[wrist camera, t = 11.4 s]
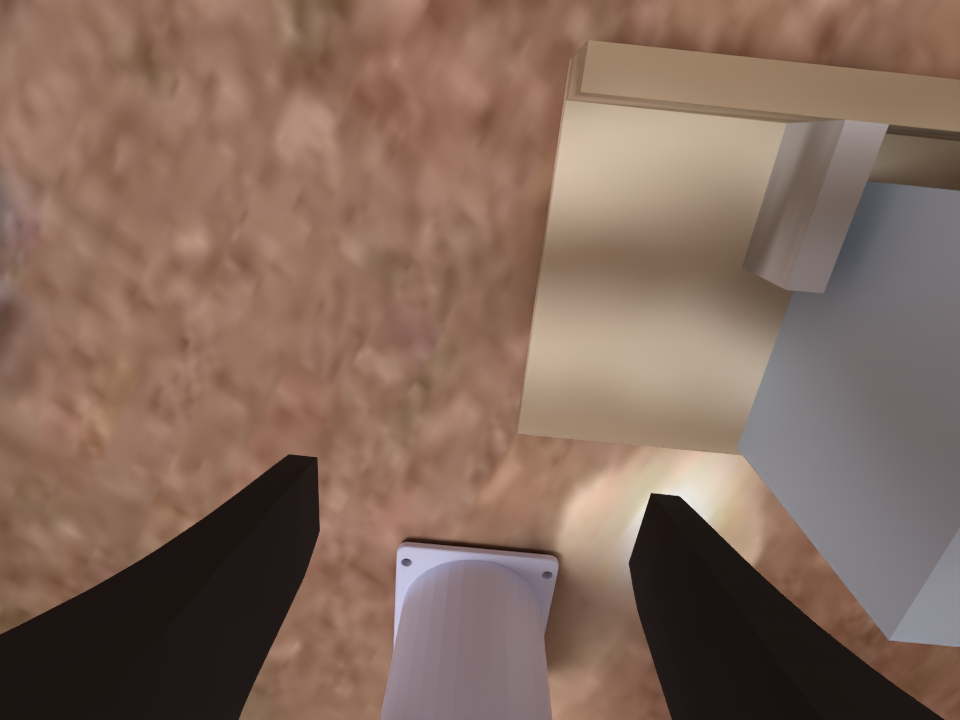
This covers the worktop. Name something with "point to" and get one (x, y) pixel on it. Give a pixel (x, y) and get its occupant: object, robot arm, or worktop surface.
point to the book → (876, 413)
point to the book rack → (704, 228)
